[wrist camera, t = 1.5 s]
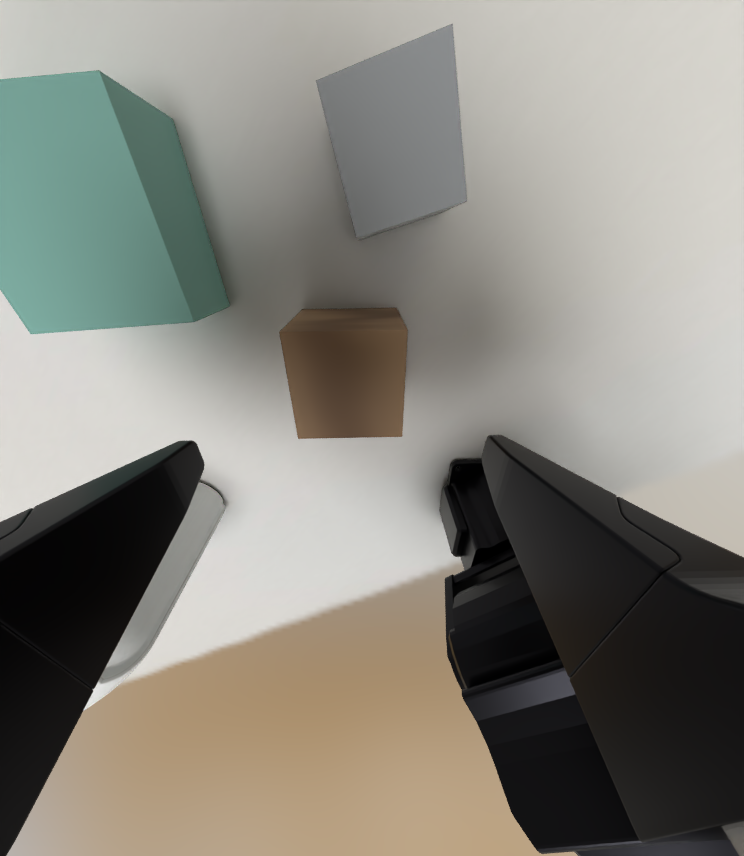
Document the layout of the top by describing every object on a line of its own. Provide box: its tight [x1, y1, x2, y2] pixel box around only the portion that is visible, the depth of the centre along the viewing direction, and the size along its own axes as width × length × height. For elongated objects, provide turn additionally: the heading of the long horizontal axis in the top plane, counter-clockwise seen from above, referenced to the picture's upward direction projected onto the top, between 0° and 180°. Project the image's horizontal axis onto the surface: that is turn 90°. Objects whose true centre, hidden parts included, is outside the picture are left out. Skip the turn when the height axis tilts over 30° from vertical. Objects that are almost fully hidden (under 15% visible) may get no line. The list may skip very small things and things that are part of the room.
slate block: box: [316, 24, 467, 240], centre depth 11 cm, size 4×4×4 cm
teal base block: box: [0, 70, 230, 334], centre depth 12 cm, size 7×7×4 cm
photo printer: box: [83, 482, 226, 711], centre depth 18 cm, size 10×4×12 cm, turn 126°
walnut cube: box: [279, 308, 408, 439], centre depth 15 cm, size 5×5×5 cm
